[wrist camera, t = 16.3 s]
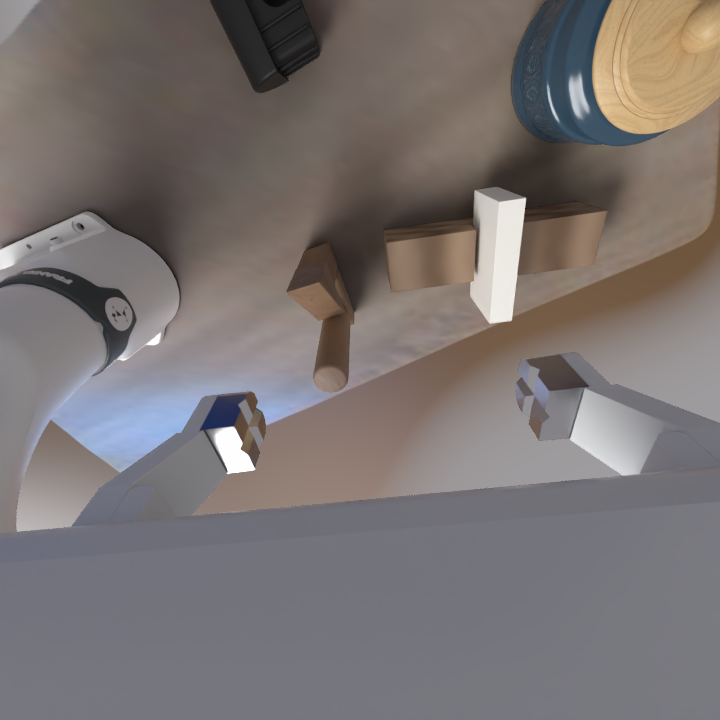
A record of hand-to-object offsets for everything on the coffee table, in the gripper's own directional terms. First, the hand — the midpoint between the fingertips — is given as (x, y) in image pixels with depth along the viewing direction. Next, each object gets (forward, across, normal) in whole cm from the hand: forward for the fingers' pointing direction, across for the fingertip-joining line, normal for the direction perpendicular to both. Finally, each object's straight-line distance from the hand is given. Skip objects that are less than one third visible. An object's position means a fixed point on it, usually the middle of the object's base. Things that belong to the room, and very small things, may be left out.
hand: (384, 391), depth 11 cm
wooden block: (+37, +6, +10) cm, 39 cm away
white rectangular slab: (+35, -14, +7) cm, 38 cm away
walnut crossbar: (+37, -14, +7) cm, 40 cm away
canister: (+37, -23, -9) cm, 45 cm away
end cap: (+37, +7, -17) cm, 42 cm away
